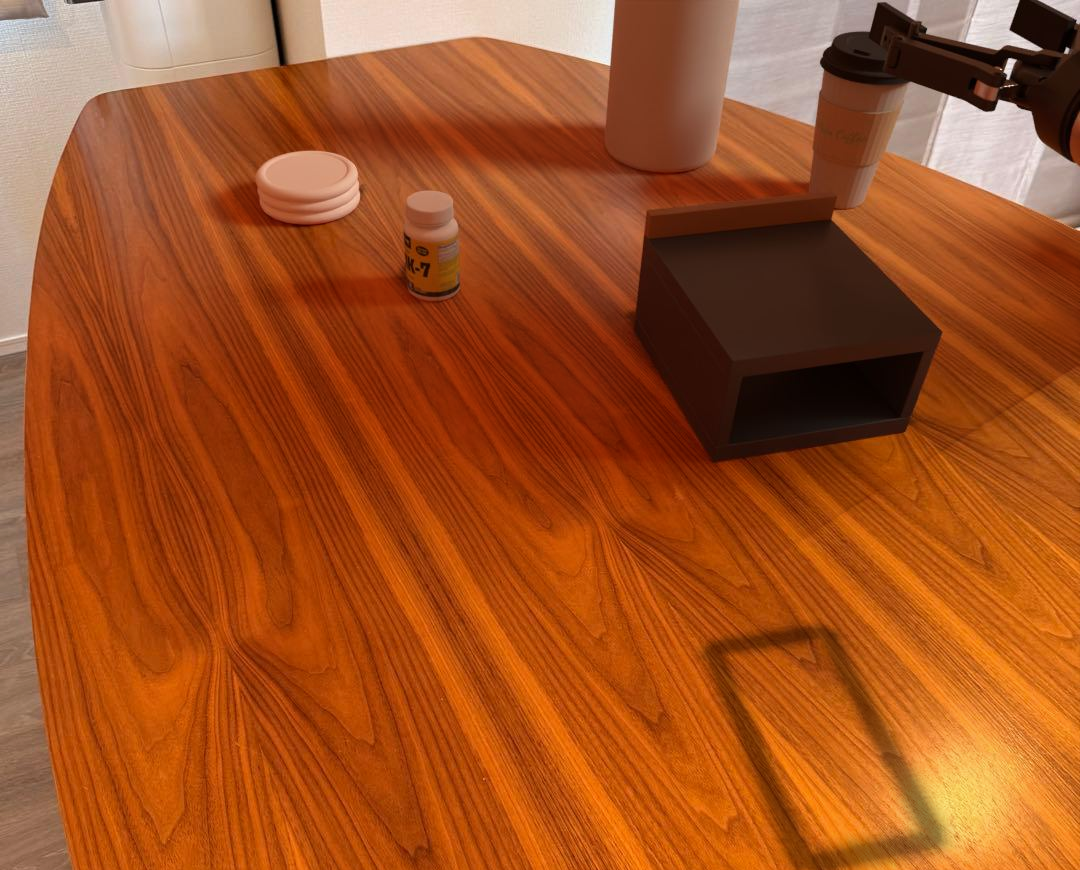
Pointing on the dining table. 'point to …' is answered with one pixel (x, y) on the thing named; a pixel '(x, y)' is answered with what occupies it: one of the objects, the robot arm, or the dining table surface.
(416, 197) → the supplement bottle
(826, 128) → the coffee cup
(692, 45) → the cylinder vase
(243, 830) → the dining table surface
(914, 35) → the robot arm
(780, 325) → the dark brown hollow box
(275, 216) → the coaster
